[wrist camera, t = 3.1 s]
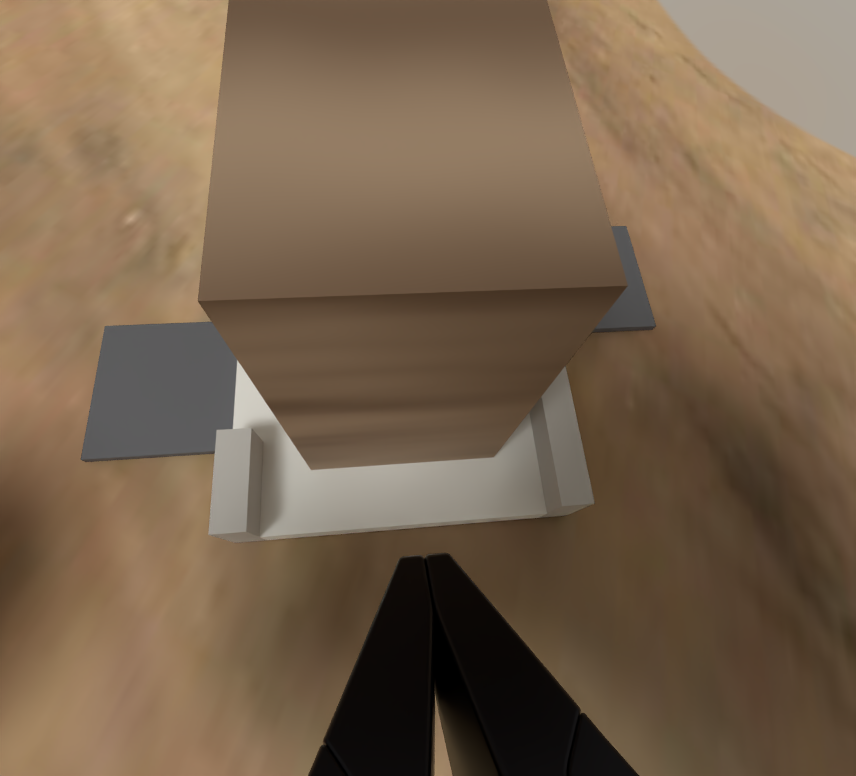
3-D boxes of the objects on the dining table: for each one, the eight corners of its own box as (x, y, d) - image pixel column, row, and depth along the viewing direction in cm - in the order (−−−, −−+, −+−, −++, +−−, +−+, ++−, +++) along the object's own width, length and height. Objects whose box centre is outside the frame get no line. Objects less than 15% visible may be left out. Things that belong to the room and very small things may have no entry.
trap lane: (703, 504, 17) (775, 484, 14) (69, 556, 15) (-19, 548, 12) (577, 76, 25) (604, 2, 22) (155, 72, 23) (117, -10, 20)
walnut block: (493, 457, 16) (628, 285, 7) (311, 470, 16) (197, 301, 6) (463, 239, 20) (527, -71, 10) (311, 242, 19) (237, -82, 10)
